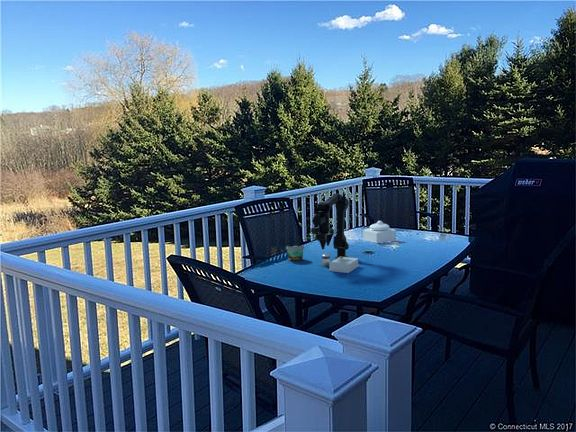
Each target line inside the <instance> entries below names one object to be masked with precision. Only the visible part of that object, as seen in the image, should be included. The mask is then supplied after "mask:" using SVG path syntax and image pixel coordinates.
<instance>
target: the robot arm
mask: <svg viewBox="0 0 576 432" xmlns="http://www.w3.org/2000/svg"><path fill="white" fill-rule="evenodd" d="M349 203H350V201H349V200H348V198H347V197H346V196H343V195H342V194H340V193H333V194H332V195H331V196H330V197H329V198H327V199H326V200H324V201H319V202H318V204H317V206H316V208H315V209H316V210H315V212H314V217H313V218H312V224H313V225H314V227H312V228H310V233H311V234H312V235H315V234H316V235H315V240H316V241H318V242H319V244H320V247H321V250H324V249H325V247H326V246H330V244H331V241H332V239H333V242H332V245H333V249H335V250H336V256H335V257H334V258H335V259H337V258H339V257H340V256H343V257H347V258H349V256H347V251H346V250H349V248H350V244H349V243H348V241H347V236H346V235H345V225H346V224H345V221H346V212H347V209H348V208H349ZM334 205H335V209H336V211H337V218H336V219H337V220H336V234H335V229H334V228H330V226H331V223H330V215H331V212H330V211H331V210H332V207H333V206H334ZM315 226H316V227H315ZM334 234H335V235H334Z"/></svg>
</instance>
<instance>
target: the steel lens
mask: <svg viewBox="0 0 576 432" xmlns="http://www.w3.org/2000/svg"><path fill="white" fill-rule="evenodd" d="M330 262H331V255H330V254H329V253H323V254H321V266H322V267H324V268H328V267H329V263H330Z"/></svg>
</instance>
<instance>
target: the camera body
mask: <svg viewBox="0 0 576 432" xmlns="http://www.w3.org/2000/svg"><path fill="white" fill-rule="evenodd" d="M358 267H359V258H356V257H343V256H340V257H339V258H335V259H333V260H331V261H330V263H329V272H336V273H341V274H342V273H344V274H349V273H351V272H353V271H354V270H356V269H357V268H358Z"/></svg>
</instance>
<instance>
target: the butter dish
mask: <svg viewBox="0 0 576 432" xmlns="http://www.w3.org/2000/svg"><path fill="white" fill-rule="evenodd" d="M396 232H397V230H396V229H394V228H390V226H389V224H387V223H384V222H383V221H382V220H378V221H377V222H376V223H373V224H371V225H370V226H369V228H363V229H362V239H365V240H368V241H371V242H375V243H381V242H388V241H395V242H396V241H397V239H396V238H397V237H396ZM365 240H364V241H365ZM368 241H367V242H368ZM371 242H370V243H371ZM388 243H389V242H388ZM381 244H382V243H381Z"/></svg>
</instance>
